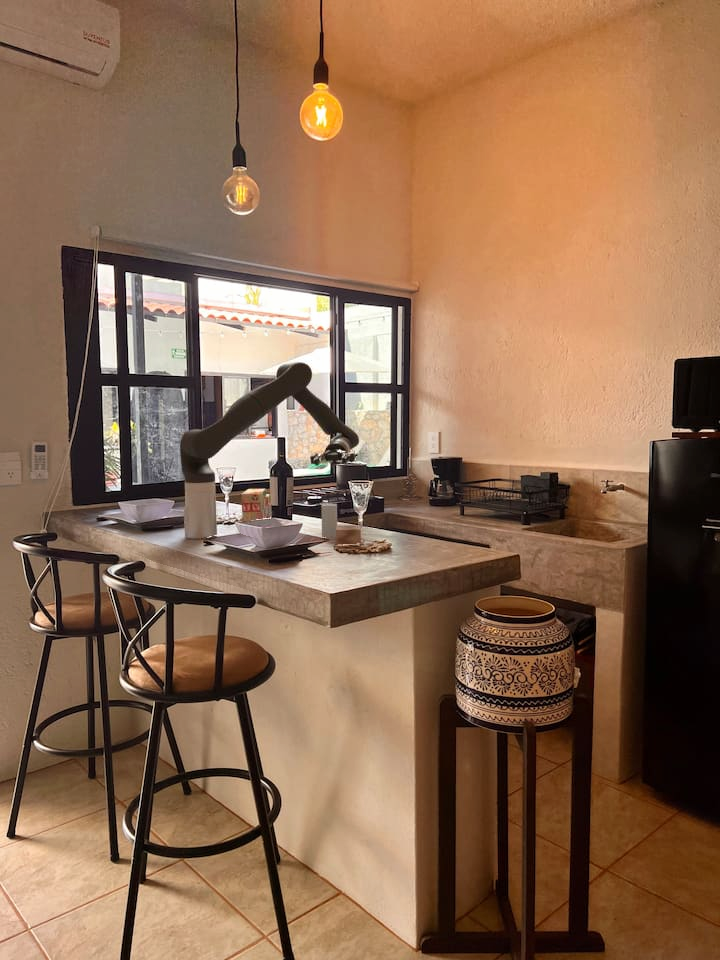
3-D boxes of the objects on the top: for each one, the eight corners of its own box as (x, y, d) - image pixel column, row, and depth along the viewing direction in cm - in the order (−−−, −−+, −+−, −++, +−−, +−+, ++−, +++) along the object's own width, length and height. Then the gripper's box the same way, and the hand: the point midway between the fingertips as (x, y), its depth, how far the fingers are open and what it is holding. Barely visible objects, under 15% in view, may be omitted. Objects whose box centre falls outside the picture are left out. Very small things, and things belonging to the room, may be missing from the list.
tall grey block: (322, 538, 209) (321, 505, 208) (322, 535, 213) (322, 503, 212) (336, 538, 209) (336, 505, 208) (337, 535, 213) (336, 503, 212)
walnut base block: (336, 547, 196) (336, 529, 196) (336, 542, 203) (336, 525, 203) (360, 546, 197) (360, 529, 196) (360, 542, 203) (360, 525, 203)
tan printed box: (254, 519, 247) (253, 485, 246) (271, 519, 247) (270, 485, 245) (242, 530, 226) (241, 492, 224) (261, 530, 225) (260, 492, 224)
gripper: (315, 441, 232) (306, 451, 217) (357, 439, 230) (350, 448, 215) (318, 463, 234) (308, 474, 218) (359, 460, 232) (353, 471, 216)
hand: (329, 461), depth 216 cm, fingers open, 8 cm apart
